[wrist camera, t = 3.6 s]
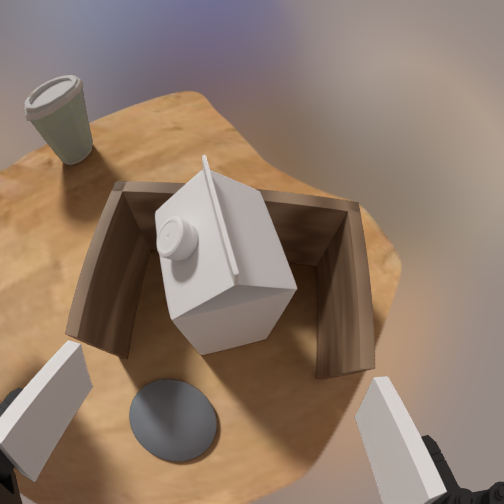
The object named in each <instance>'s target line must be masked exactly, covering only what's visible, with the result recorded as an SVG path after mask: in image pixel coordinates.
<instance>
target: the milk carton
mask: <svg viewBox="0 0 504 504" xmlns="http://www.w3.org/2000/svg"><path fill="white" fill-rule="evenodd" d="M202 161H203V169H202V170H201V171H200V172H199V173H198V174H197V175H195V176H194V177H193V178H192V179H191V180H190V181H189V182H187V183H186V184H185V185H184V186H183V187H182V188H181V189H180V190H178V191H177V192H176V193H175V194H174V195H173V196H172V197H171V198H170V199H169V200H167V201H166V202H165V203H164V204H163V205H162V206H161V207H160V208H159V209H158V210H157V211H156V213H155V222H156V232H157V250H158V253H159V255H160V262H161V269H162V275H163V282H164V288H165V294H166V299H167V304H168V309H169V314H170V318H171V320H172V321H173V323H174V324H175V325H176V327H177V328H178V329H179V330H180V331H181V333H182V334H183V335H184V336H185V337H186V339H187V340H188V341H189V342H190V343H191V344H192V346H193V347H194V348H195V349H196V350H197V351H198V353H199V354H200V355H205V354H209V353H214V352H218V351H222V350H226V349H230V348H234V347H238V346H242V345H246V344H250V343H253V342H257V341H261V340H264V339H267V337H268V335H269V334H270V332H271V331H272V329H273V327H274V326H275V324H276V323H277V321H278V319H279V318H280V316H281V315H282V313H283V311H284V310H285V308H286V306H287V305H288V303H289V301H290V300H291V298H292V296H293V295H294V293H295V291H296V290H297V286H296V283H295V280H294V277H293V275H292V272H291V269H290V267H289V264H288V261H287V259H286V256H285V253H284V251H283V248H282V246H281V243H280V240H279V238H278V235H277V233H276V230H275V228H274V225H273V222H272V220H271V217H270V215H269V212H268V210H267V207H266V205H265V202H264V200H263V197H262V195H261V193H260V191H258V190H256V189H254V188H251V187H249V186H247V185H244V184H242V183H240V182H237V181H235V180H233V179H230V178H228V177H226V176H223V175H221V174H219V173H216V172H214V171H211V170H210V169H209V165H208V162H207V158H206V155H202Z"/></svg>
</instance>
